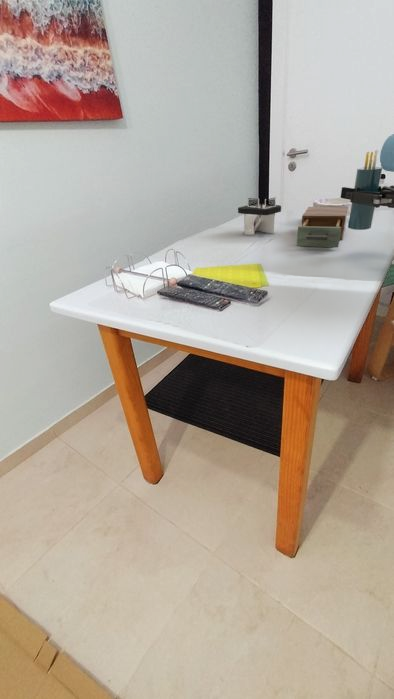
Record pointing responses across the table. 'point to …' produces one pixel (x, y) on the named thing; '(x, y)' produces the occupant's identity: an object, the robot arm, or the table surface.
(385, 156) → the robot arm
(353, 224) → the straw cup
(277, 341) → the table surface
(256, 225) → the black-topped pedestal
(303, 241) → the drawer
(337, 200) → the paper bowls
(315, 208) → the cabinet
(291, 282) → the table surface
